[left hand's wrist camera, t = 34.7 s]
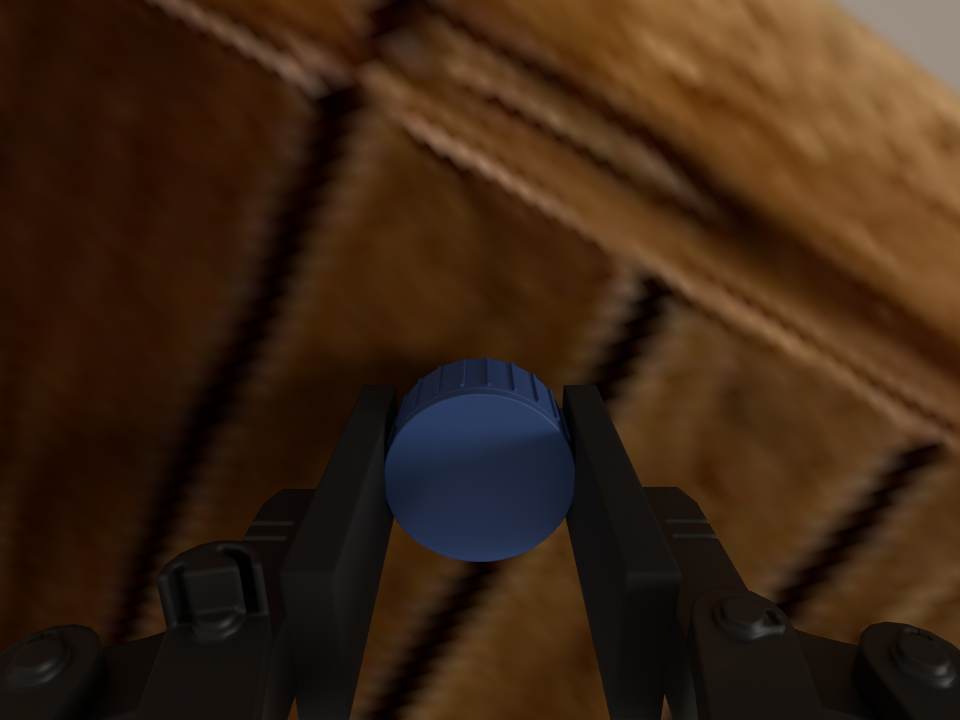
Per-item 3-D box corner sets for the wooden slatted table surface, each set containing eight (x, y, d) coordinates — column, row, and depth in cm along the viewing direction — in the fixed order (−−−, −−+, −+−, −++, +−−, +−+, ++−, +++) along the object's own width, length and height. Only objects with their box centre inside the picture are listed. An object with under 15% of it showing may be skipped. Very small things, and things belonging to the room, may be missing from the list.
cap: (561, 346, 14) (573, 381, 12) (571, 502, 15) (584, 555, 13) (380, 365, 14) (364, 402, 12) (408, 517, 15) (397, 572, 13)
